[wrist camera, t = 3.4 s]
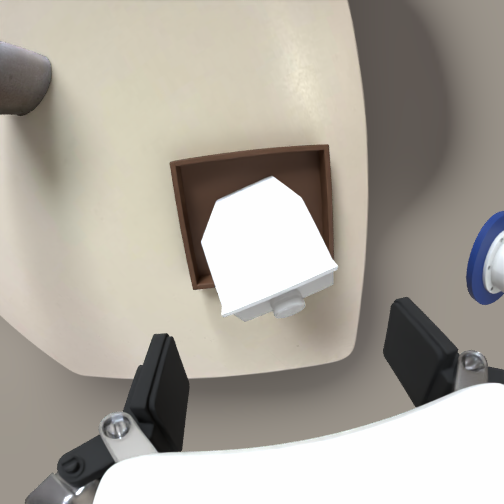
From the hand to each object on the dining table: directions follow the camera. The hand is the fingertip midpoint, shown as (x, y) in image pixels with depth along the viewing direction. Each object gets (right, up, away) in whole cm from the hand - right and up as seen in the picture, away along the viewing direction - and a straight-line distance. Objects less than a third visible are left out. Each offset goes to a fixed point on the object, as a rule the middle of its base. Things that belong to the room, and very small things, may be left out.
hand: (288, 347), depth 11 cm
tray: (-1, +9, +23) cm, 24 cm away
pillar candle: (-34, +28, +14) cm, 46 cm away
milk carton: (-1, +8, +23) cm, 24 cm away
